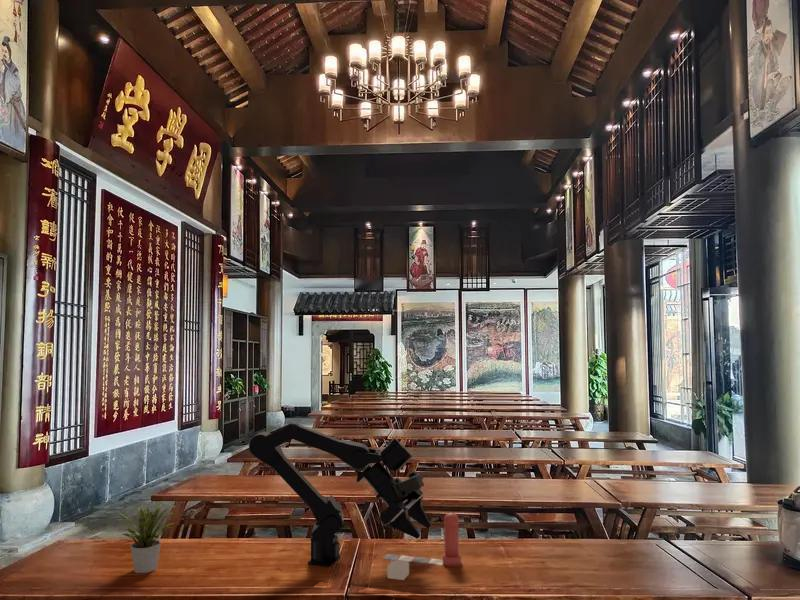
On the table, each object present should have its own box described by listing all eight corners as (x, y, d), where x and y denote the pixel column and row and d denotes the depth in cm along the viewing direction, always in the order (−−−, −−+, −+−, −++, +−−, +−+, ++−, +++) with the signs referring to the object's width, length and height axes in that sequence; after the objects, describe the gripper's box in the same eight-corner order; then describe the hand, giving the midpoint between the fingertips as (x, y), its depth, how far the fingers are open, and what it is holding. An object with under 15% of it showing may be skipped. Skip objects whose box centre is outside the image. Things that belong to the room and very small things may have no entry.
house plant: (192, 564, 159) (193, 498, 160) (150, 583, 146) (151, 512, 147) (151, 556, 165) (152, 493, 166) (107, 574, 152) (108, 506, 153)
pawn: (440, 565, 153) (439, 514, 154) (445, 559, 157) (444, 509, 158) (458, 567, 151) (458, 516, 152) (463, 561, 156) (462, 511, 157)
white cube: (387, 583, 145) (387, 565, 145) (393, 577, 149) (393, 560, 149) (403, 585, 144) (403, 567, 144) (409, 579, 148) (409, 561, 148)
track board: (378, 565, 156) (378, 561, 156) (389, 555, 164) (389, 551, 164) (456, 574, 150) (456, 569, 150) (463, 563, 157) (463, 558, 158)
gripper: (392, 469, 151) (436, 521, 147) (416, 456, 169) (455, 502, 164) (362, 500, 153) (404, 551, 149) (388, 484, 171) (426, 529, 166)
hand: (424, 532), depth 157 cm, fingers open, 9 cm apart
